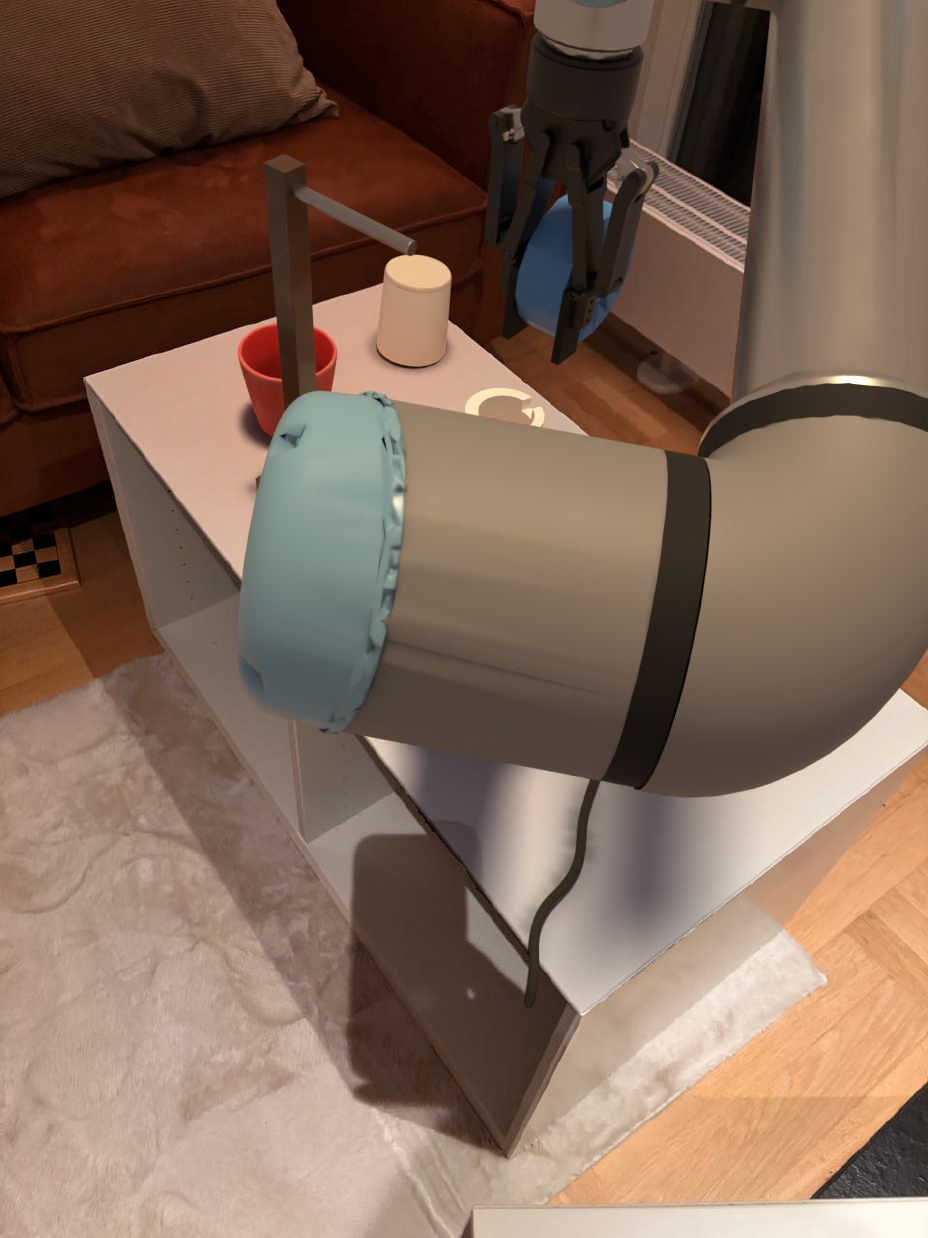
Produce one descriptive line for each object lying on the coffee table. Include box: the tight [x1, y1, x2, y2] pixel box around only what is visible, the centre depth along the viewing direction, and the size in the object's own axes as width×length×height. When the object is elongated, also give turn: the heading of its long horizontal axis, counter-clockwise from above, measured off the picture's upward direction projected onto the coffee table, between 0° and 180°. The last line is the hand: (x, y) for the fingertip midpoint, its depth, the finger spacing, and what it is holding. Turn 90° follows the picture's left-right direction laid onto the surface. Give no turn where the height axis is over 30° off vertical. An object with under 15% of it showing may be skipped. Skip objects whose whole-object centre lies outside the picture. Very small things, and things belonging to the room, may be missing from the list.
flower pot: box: [237, 322, 338, 438], centre depth 104 cm, size 11×11×10 cm
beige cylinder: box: [375, 254, 452, 367], centre depth 116 cm, size 11×9×10 cm
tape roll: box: [515, 193, 637, 344], centre depth 77 cm, size 4×11×11 cm
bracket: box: [464, 387, 545, 428], centre depth 102 cm, size 20×9×7 cm, turn 123°
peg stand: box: [255, 153, 418, 491], centre depth 86 cm, size 17×8×35 cm, turn 52°
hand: (538, 343), depth 79 cm, fingers closed on tape roll, 4 cm apart
